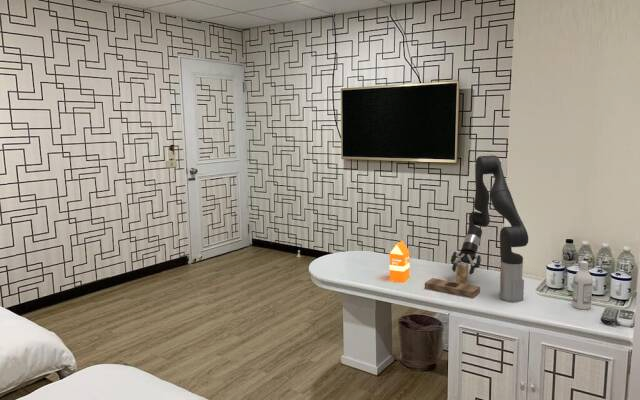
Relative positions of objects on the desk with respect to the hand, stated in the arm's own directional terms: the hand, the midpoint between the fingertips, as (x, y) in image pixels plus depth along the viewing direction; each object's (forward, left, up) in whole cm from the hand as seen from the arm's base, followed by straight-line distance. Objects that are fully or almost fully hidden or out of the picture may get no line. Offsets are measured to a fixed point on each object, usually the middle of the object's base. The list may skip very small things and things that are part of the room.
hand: (461, 272), depth 235 cm
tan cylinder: (0, 0, -6) cm, 6 cm away
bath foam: (-47, -25, -6) cm, 54 cm away
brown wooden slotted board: (-6, +11, -6) cm, 14 cm away
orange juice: (+20, +24, -6) cm, 32 cm away
